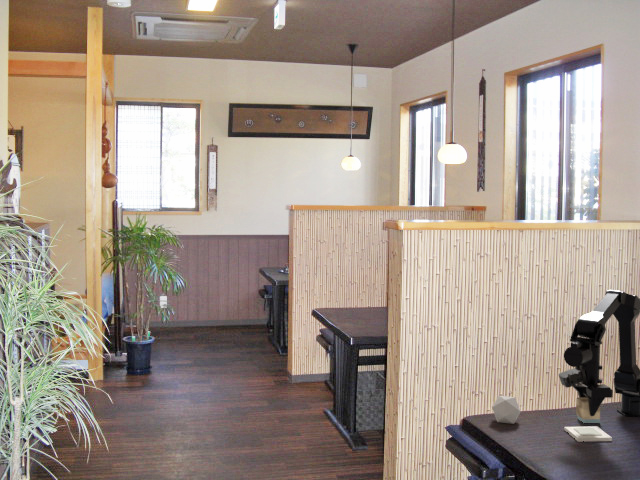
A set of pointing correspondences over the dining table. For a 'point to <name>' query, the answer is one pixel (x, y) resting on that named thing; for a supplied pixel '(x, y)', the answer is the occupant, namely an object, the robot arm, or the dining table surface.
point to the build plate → (588, 433)
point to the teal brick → (589, 420)
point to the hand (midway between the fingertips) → (588, 413)
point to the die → (506, 409)
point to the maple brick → (585, 409)
